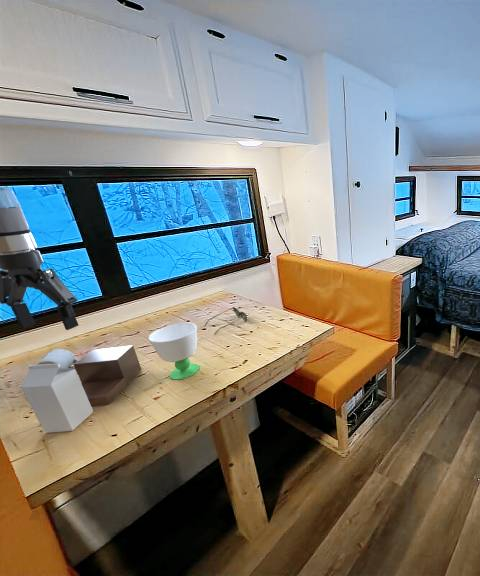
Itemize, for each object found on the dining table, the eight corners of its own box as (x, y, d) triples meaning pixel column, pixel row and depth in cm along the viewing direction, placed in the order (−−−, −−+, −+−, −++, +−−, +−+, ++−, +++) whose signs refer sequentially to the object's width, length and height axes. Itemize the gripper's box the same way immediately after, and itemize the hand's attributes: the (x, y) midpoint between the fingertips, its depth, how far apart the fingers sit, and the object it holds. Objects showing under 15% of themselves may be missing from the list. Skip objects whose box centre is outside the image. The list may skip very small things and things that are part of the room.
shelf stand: (63, 410, 90) (49, 382, 86) (103, 374, 106) (93, 349, 103) (109, 404, 92) (98, 376, 88) (141, 369, 108) (133, 345, 105)
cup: (167, 365, 110) (154, 326, 105) (209, 357, 115) (199, 319, 109) (156, 388, 98) (141, 345, 93) (204, 377, 103) (193, 336, 97)
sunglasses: (249, 323, 141) (246, 314, 139) (216, 338, 131) (213, 328, 129) (235, 315, 150) (232, 306, 148) (204, 328, 140) (200, 318, 138)
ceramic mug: (37, 382, 103) (28, 362, 100) (52, 369, 110) (43, 350, 107) (77, 375, 106) (69, 356, 104) (88, 362, 113) (81, 344, 111)
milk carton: (72, 431, 82) (44, 372, 75) (44, 433, 82) (13, 374, 75) (94, 412, 89) (69, 356, 82) (68, 414, 88) (41, 358, 82)
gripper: (76, 248, 79) (104, 321, 86) (-8, 248, 81) (27, 319, 88) (43, 255, 72) (76, 334, 79) (-48, 255, 74) (-7, 332, 81)
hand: (50, 327), depth 84 cm, fingers open, 13 cm apart
